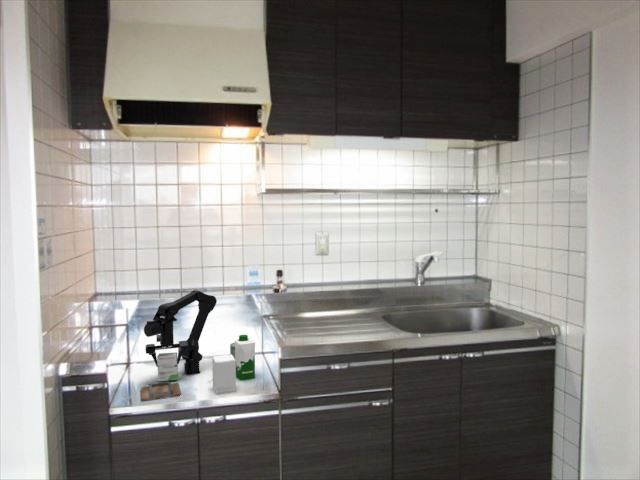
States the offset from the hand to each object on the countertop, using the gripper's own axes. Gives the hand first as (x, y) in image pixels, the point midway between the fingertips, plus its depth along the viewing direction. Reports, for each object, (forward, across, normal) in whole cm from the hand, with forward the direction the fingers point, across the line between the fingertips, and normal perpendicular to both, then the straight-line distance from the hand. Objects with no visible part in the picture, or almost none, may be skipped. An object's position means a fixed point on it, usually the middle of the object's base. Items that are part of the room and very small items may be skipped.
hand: (167, 365), depth 217 cm
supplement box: (+8, -22, +22) cm, 32 cm away
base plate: (+8, +4, +13) cm, 16 cm away
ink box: (+7, 0, 0) cm, 7 cm away
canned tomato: (+8, -35, -10) cm, 37 cm away
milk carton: (+8, -34, +10) cm, 36 cm away
